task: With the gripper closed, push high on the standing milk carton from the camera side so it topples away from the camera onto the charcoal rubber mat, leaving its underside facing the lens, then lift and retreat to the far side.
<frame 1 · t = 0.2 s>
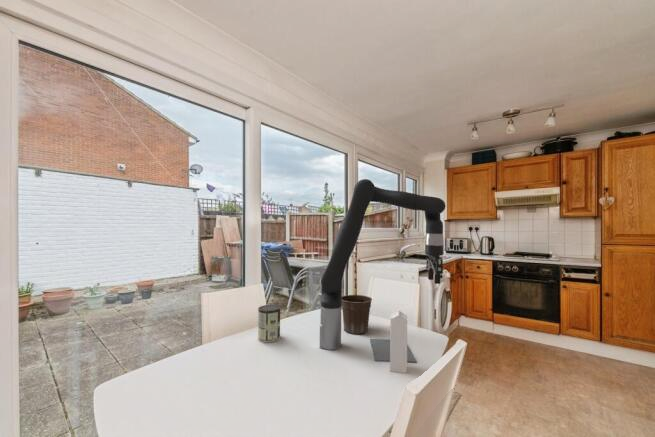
hand: (434, 281, 122), 29 cm above the table, fingers open, 8 cm apart
milk: (398, 369, 105), on the table
coffee can: (268, 338, 132), on the table
plant pot: (355, 330, 143), on the table
mat: (391, 350, 120), on the table
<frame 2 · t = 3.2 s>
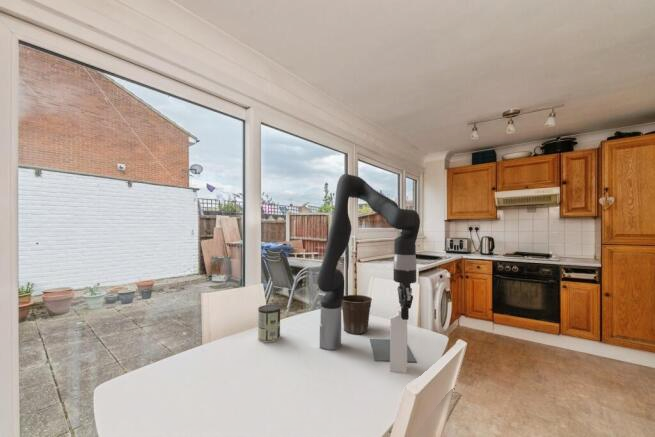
hand: (404, 319, 96), 21 cm above the table, fingers closed
nothing on the table moved.
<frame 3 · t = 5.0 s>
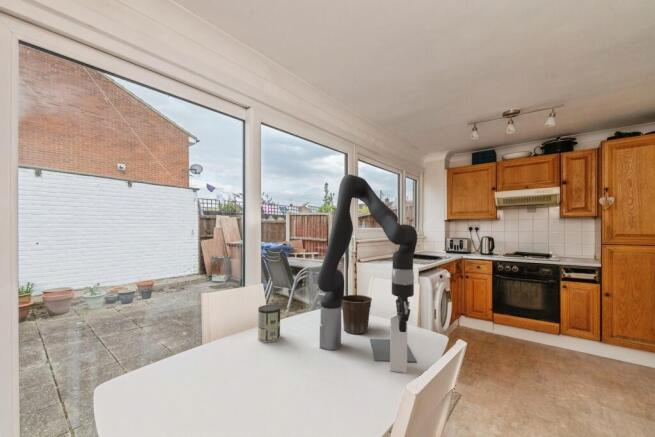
hand: (402, 331, 99), 16 cm above the table, fingers closed
milk: (398, 368, 105), on the table, touching hand
everything else where it was.
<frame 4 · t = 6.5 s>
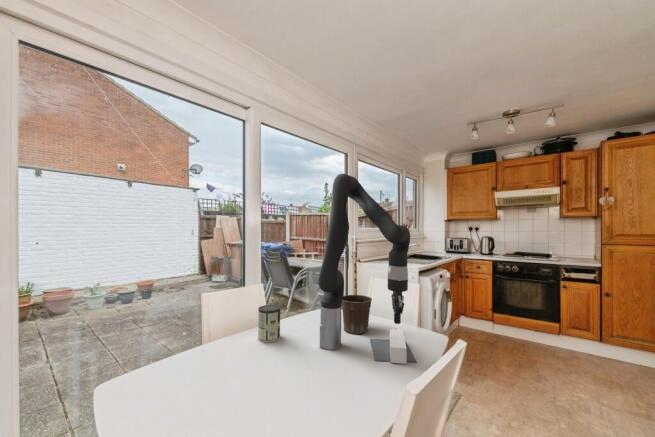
hand: (397, 323, 107), 16 cm above the table, fingers closed
milk: (398, 355, 108), point 3 cm above the table, touching mat
everything else where it was.
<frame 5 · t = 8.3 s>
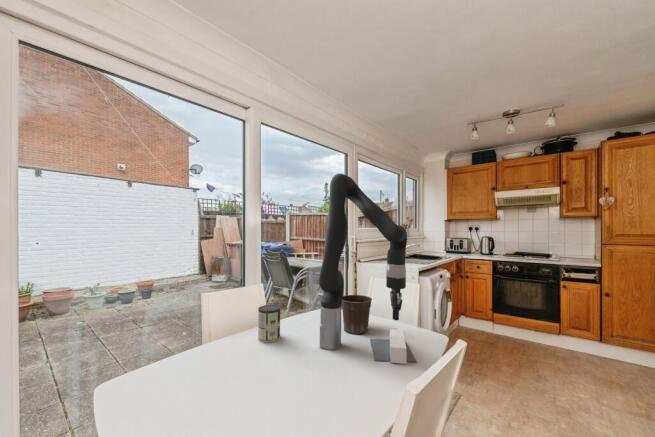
hand: (395, 319, 111), 16 cm above the table, fingers closed
nothing on the table moved.
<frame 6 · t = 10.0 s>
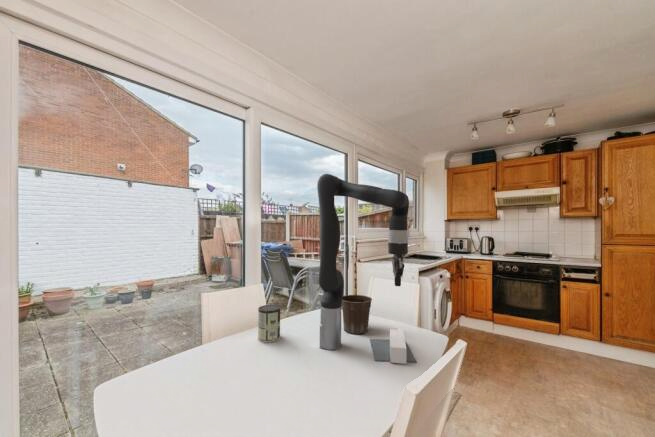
hand: (397, 285, 111), 29 cm above the table, fingers closed
nothing on the table moved.
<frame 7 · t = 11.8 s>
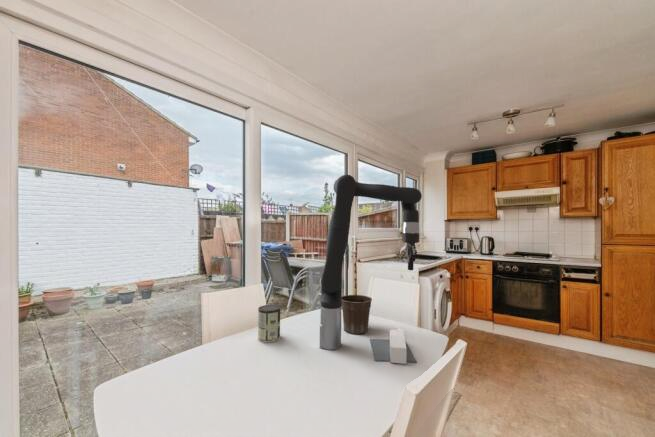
hand: (410, 270, 129), 33 cm above the table, fingers closed
nothing on the table moved.
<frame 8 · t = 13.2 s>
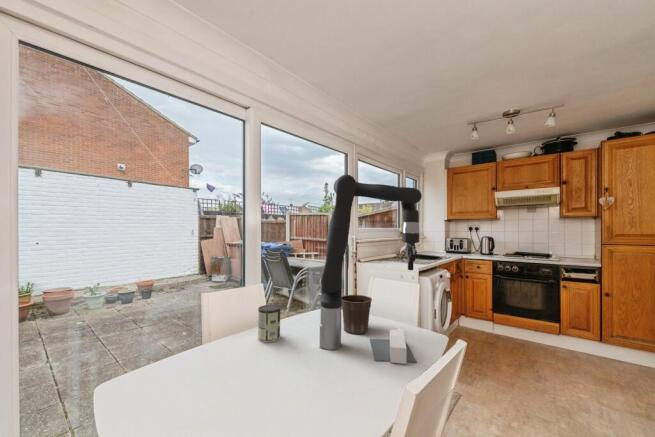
hand: (410, 270, 129), 33 cm above the table, fingers closed
nothing on the table moved.
at the end: milk tilted 90°; milk inside the target area (5.5 cm from its centre), point 3.5 cm above the table; milk touching mat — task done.
